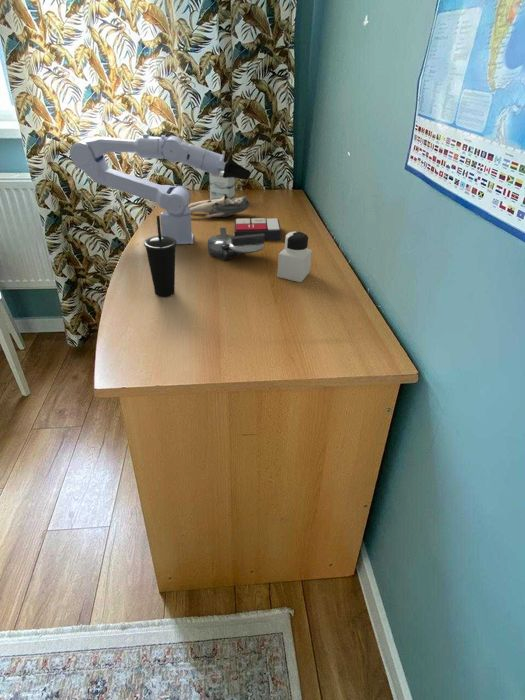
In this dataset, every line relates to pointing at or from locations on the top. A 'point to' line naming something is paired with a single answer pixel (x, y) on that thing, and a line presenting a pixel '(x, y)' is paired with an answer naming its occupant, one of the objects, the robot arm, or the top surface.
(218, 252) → the pot
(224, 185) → the ink box
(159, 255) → the drinking cup
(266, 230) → the calculator
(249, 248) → the lid
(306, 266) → the medicine bottle
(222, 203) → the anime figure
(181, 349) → the top surface
